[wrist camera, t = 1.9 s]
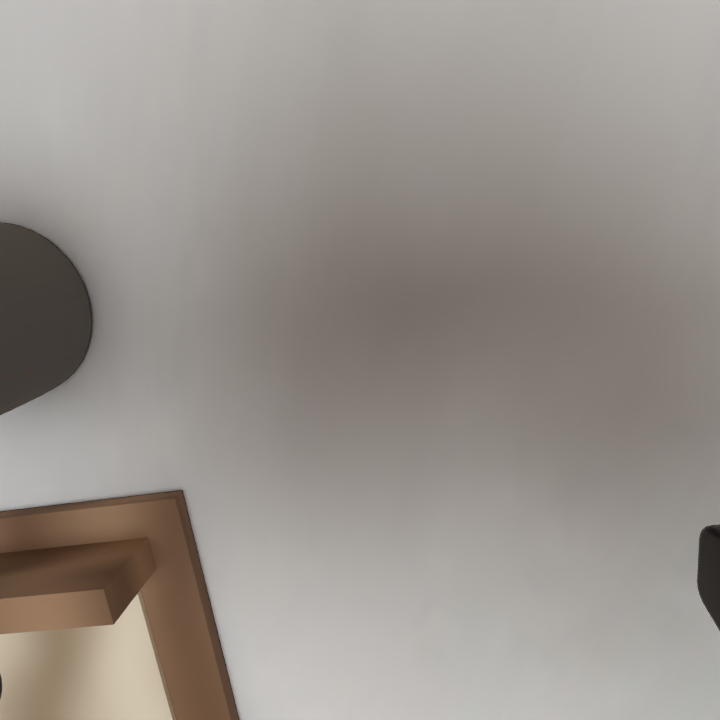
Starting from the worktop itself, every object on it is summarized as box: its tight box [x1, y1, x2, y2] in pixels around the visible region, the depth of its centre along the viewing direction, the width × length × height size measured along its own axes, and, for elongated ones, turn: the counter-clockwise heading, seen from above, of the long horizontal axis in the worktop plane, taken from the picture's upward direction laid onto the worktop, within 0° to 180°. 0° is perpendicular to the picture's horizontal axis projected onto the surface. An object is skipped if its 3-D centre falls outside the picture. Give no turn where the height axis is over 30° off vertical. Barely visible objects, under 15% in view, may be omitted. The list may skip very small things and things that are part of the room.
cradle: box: [0, 491, 239, 720], centre depth 22 cm, size 14×14×4 cm
